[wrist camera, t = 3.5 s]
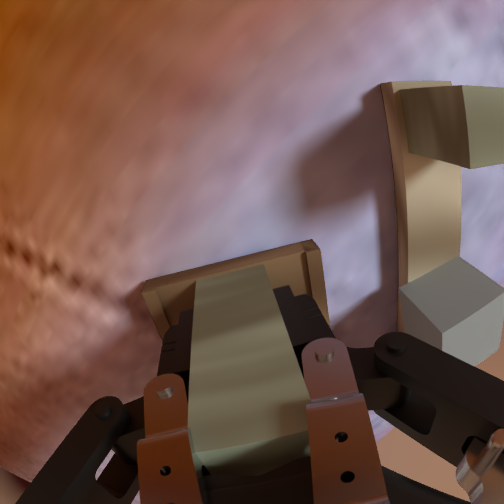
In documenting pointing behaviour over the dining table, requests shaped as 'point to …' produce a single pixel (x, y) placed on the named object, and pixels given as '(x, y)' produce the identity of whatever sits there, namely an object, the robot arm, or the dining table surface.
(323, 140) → the dining table surface
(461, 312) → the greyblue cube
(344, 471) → the robot arm
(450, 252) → the birch slat
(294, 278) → the open wooden frame
